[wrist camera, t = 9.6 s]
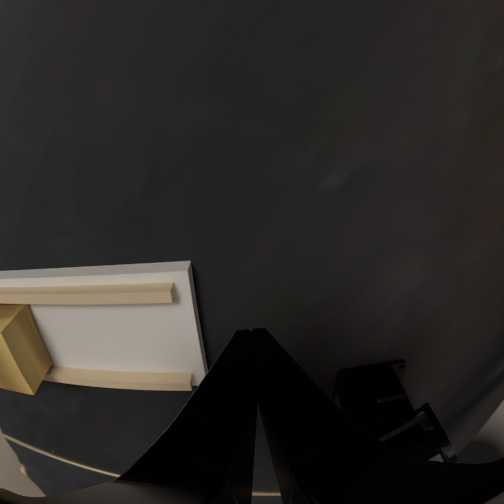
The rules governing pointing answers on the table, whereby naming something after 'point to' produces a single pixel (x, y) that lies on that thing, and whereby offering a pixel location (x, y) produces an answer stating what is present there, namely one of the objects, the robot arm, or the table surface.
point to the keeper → (21, 350)
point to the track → (115, 323)
